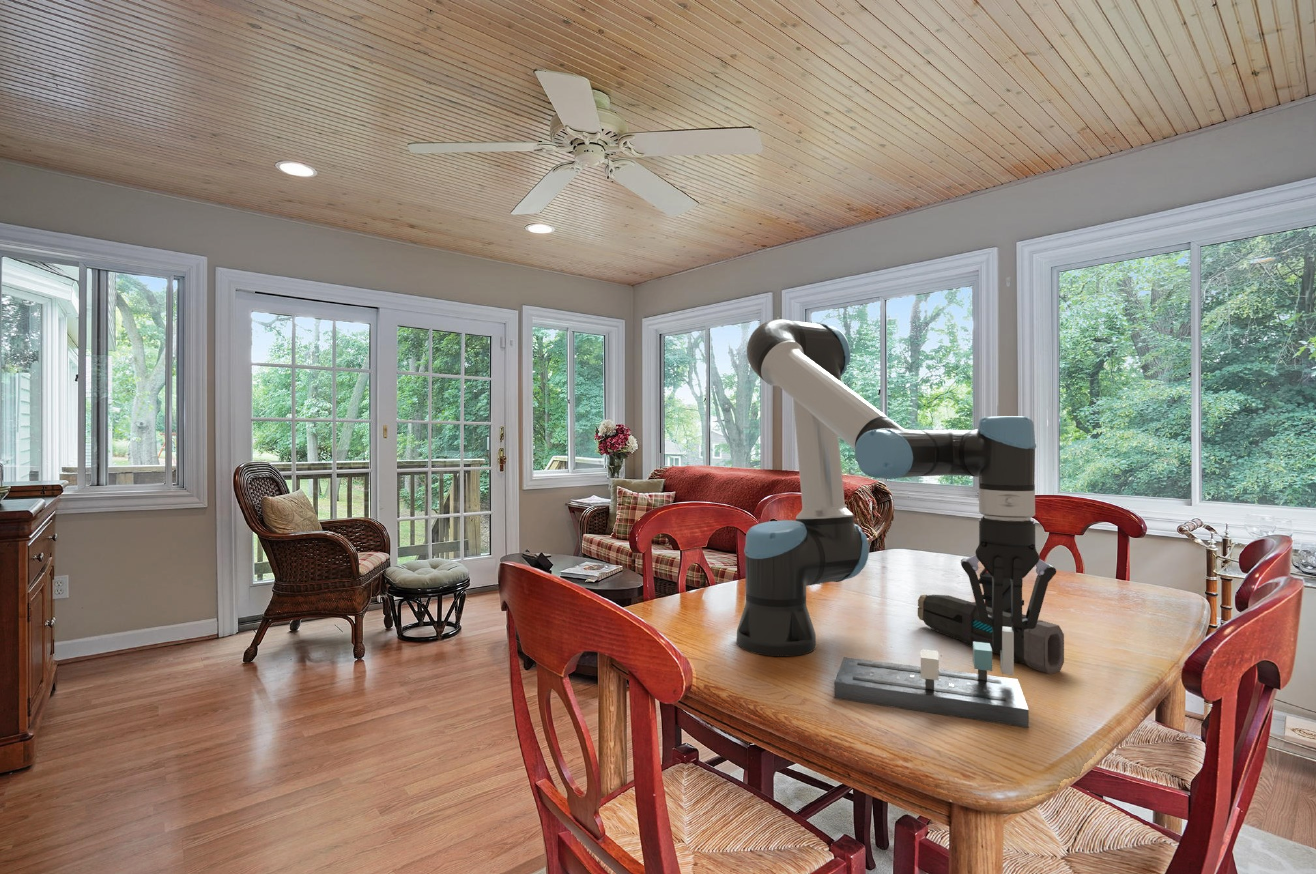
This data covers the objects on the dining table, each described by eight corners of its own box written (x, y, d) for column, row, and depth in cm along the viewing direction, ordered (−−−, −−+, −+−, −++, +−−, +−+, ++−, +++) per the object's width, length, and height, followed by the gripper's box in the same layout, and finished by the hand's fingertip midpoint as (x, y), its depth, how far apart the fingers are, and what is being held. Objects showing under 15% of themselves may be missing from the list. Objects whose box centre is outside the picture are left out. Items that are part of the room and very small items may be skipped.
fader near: (920, 691, 92) (920, 657, 92) (921, 681, 96) (920, 649, 96) (938, 694, 92) (938, 659, 92) (938, 684, 95) (938, 651, 95)
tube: (941, 637, 135) (1077, 666, 108) (918, 649, 133) (1052, 681, 105) (926, 588, 136) (1059, 604, 108) (903, 599, 133) (1033, 618, 105)
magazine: (1030, 606, 142) (1016, 550, 138) (1005, 642, 135) (990, 583, 131) (1012, 603, 145) (999, 547, 141) (988, 638, 138) (972, 580, 134)
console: (834, 698, 97) (834, 681, 97) (844, 671, 108) (843, 656, 108) (1028, 727, 87) (1028, 709, 87) (1017, 695, 98) (1017, 678, 98)
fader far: (974, 682, 96) (974, 649, 96) (972, 673, 100) (972, 641, 100) (992, 684, 95) (992, 651, 95) (990, 675, 99) (989, 643, 99)
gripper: (960, 518, 95) (961, 674, 95) (1061, 522, 90) (1061, 687, 90) (958, 512, 102) (958, 658, 102) (1051, 516, 97) (1052, 669, 97)
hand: (1007, 671), depth 96 cm, fingers closed
